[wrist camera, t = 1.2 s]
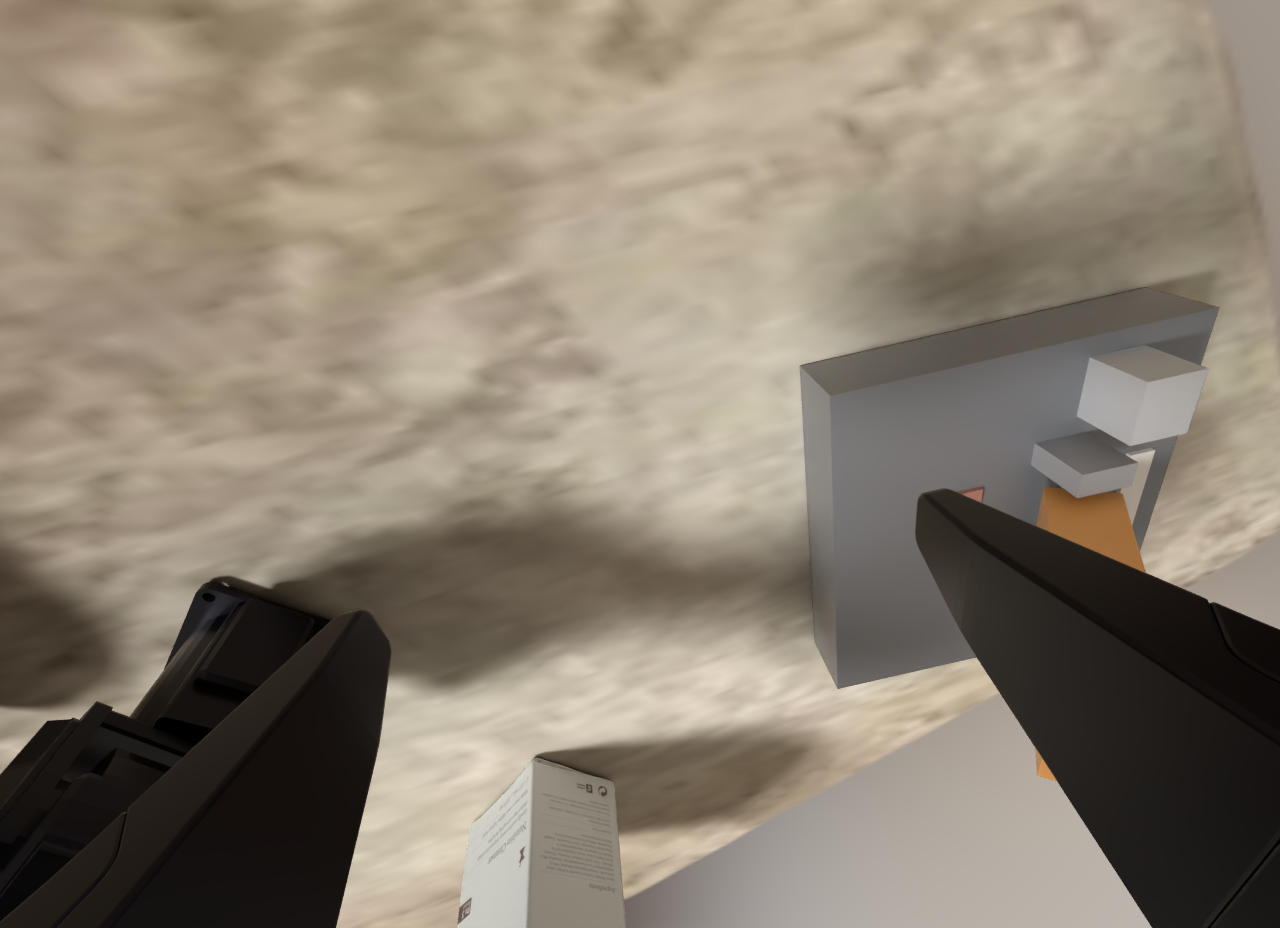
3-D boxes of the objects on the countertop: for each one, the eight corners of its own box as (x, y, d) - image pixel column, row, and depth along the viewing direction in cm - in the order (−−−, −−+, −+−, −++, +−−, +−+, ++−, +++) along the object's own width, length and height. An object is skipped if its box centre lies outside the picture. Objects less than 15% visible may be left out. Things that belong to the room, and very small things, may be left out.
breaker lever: (1023, 569, 25) (1037, 775, 18) (1042, 475, 23) (1065, 672, 16) (1091, 579, 24) (1133, 802, 17) (1119, 481, 22) (1181, 696, 15)
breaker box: (814, 642, 31) (859, 732, 26) (800, 365, 23) (860, 425, 18) (1069, 584, 31) (1158, 664, 26) (1145, 287, 23) (1293, 327, 18)
